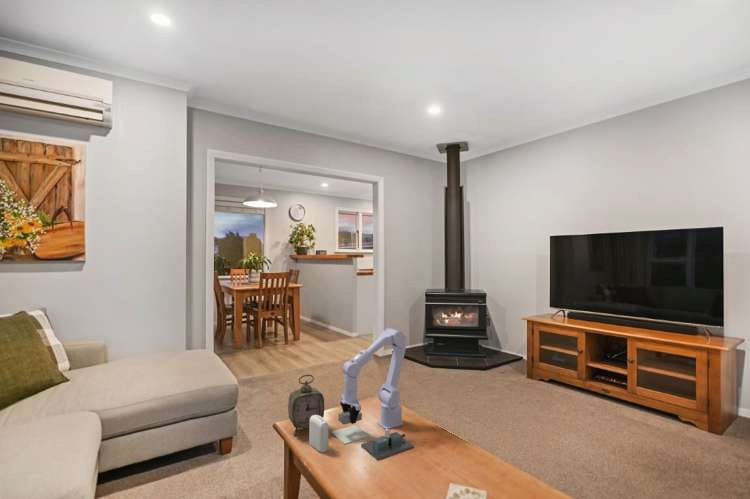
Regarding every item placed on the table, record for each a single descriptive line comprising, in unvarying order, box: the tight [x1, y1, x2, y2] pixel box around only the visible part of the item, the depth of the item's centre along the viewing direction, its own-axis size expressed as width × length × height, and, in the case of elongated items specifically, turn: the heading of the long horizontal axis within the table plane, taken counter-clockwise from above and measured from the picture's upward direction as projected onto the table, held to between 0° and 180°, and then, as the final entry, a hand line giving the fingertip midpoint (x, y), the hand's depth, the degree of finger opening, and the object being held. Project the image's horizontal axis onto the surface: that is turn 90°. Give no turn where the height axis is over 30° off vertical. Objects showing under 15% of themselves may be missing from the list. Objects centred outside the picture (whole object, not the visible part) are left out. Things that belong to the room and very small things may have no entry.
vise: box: [360, 428, 415, 461], centre depth 155 cm, size 18×12×8 cm, turn 124°
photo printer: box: [308, 415, 329, 453], centre depth 155 cm, size 10×4×12 cm, turn 39°
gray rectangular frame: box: [337, 411, 363, 426], centre depth 165 cm, size 9×5×3 cm, turn 123°
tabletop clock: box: [287, 374, 325, 436], centre depth 168 cm, size 14×9×25 cm, turn 117°
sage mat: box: [331, 424, 370, 445], centre depth 165 cm, size 12×12×1 cm
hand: (350, 420), depth 165 cm, fingers closed on gray rectangular frame, 5 cm apart
